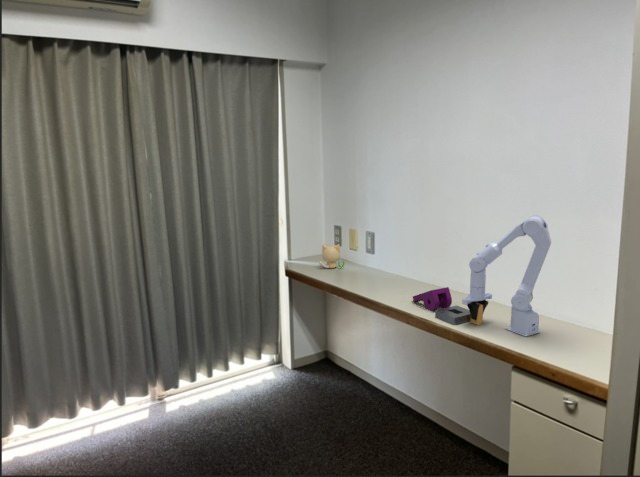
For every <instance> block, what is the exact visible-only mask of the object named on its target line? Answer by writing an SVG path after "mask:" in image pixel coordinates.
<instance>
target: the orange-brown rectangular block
mask: <svg viewBox="0 0 640 477" xmlns="http://www.w3.org/2000/svg"><path fill="white" fill-rule="evenodd" d="M477 304H479V303H477ZM479 305H480V306H479V309H478V313H477V319H476V320H473V319H471V321H470V323H472V324H473V325H476V326H480V325H483V322H484V321H483V318H484V317H483V316H484V313H483V305H482V304H479Z"/></svg>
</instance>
